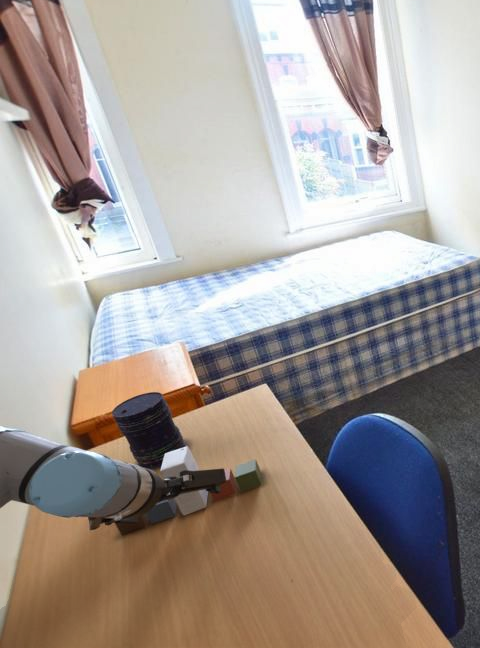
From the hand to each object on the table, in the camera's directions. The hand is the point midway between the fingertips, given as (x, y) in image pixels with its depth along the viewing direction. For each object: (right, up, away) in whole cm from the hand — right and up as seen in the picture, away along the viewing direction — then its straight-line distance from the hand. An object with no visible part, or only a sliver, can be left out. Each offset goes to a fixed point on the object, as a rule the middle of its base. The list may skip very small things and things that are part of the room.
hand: (177, 500), depth 89 cm
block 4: (+7, -1, +13) cm, 15 cm away
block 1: (-12, -7, +5) cm, 14 cm away
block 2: (-7, -5, +7) cm, 11 cm away
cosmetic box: (-2, -4, +9) cm, 10 cm away
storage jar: (-21, +1, +25) cm, 32 cm away
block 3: (+2, -3, +11) cm, 12 cm away
